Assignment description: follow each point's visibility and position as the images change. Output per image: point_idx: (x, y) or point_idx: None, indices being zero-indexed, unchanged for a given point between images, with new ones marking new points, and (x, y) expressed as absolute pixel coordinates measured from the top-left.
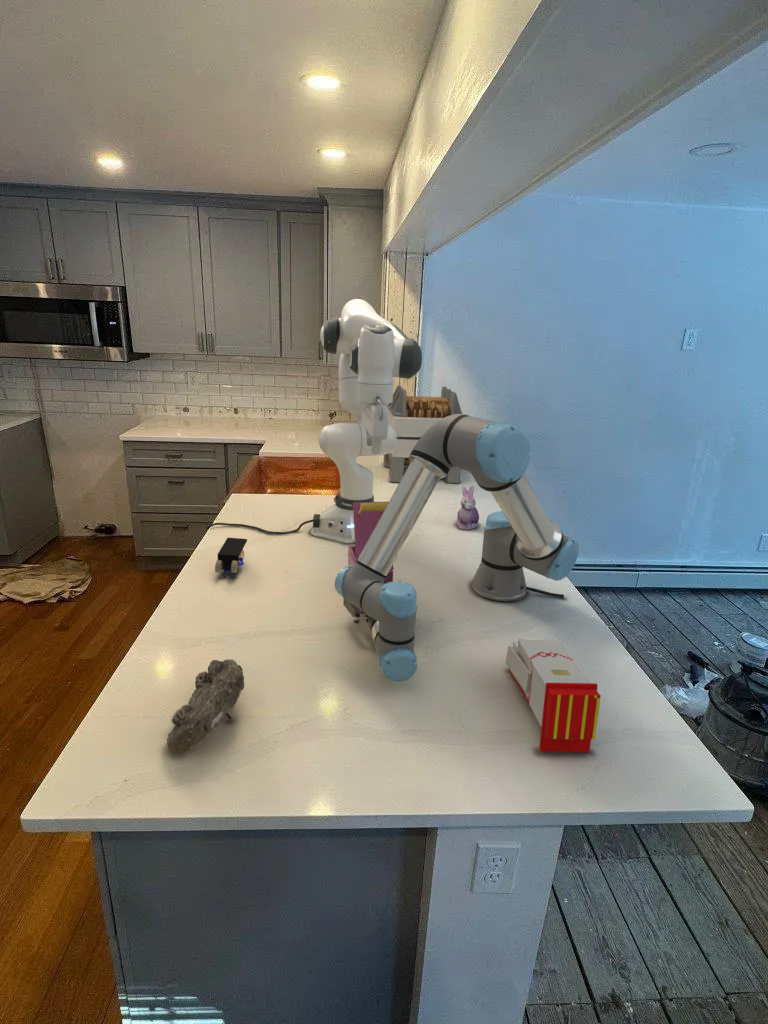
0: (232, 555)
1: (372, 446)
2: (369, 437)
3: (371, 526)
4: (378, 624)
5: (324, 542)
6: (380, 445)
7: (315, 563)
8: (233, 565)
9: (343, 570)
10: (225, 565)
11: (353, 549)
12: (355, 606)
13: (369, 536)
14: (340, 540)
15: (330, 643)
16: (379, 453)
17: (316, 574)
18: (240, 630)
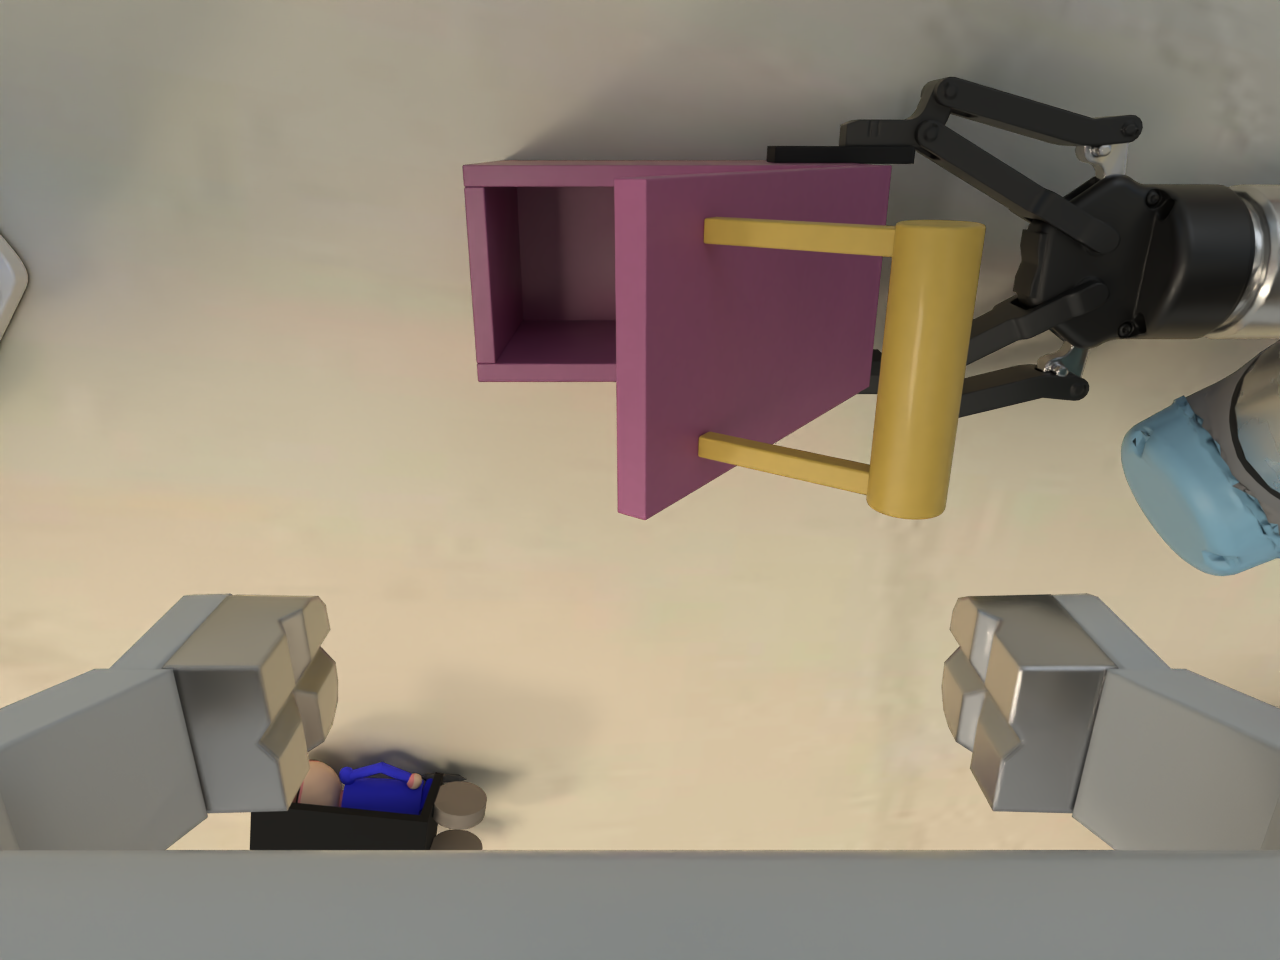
0: (425, 841)
1: (1076, 819)
2: (165, 782)
3: (758, 333)
4: (1277, 324)
5: (31, 402)
6: (1256, 704)
7: (308, 464)
8: (477, 818)
9: (1254, 558)
10: (434, 830)
11: (497, 349)
12: (1018, 387)
13: (792, 339)
14: (6, 317)
15: (1019, 454)
16: (1090, 596)
17: (430, 467)
18: (858, 731)
